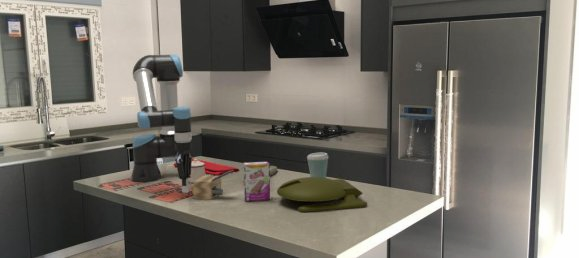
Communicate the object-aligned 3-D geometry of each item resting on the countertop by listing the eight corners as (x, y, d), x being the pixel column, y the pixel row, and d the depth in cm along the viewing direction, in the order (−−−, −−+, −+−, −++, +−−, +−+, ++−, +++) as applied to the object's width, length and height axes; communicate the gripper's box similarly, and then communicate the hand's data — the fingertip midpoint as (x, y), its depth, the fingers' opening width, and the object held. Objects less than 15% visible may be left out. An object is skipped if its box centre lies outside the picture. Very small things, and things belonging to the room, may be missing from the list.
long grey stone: (238, 187, 242) (256, 189, 239) (238, 177, 241) (256, 179, 238) (264, 169, 274) (281, 171, 271) (264, 160, 273) (281, 161, 270)
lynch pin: (192, 197, 219) (191, 186, 218) (197, 194, 224) (196, 183, 223) (219, 199, 216) (219, 187, 215) (224, 195, 221) (223, 184, 220)
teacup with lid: (209, 180, 251) (208, 158, 249) (196, 184, 244) (195, 161, 242) (193, 177, 258) (192, 156, 257) (179, 181, 251) (178, 159, 249)
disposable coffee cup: (315, 187, 233) (315, 156, 231) (303, 183, 242) (302, 153, 240) (333, 184, 239) (333, 153, 237) (320, 180, 248) (319, 150, 246)
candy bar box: (245, 202, 210) (244, 165, 208) (243, 199, 215) (242, 162, 213) (270, 200, 212) (269, 163, 210) (268, 197, 217) (267, 161, 215)
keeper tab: (212, 181, 215) (211, 179, 215) (217, 178, 221) (216, 176, 221) (228, 174, 212) (227, 171, 212) (234, 171, 218) (233, 169, 218)
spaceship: (345, 189, 229) (344, 169, 228) (369, 208, 199) (369, 185, 198) (271, 195, 222) (271, 174, 221) (285, 215, 192) (284, 191, 191)
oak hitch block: (194, 198, 217) (193, 181, 216) (205, 191, 229) (205, 175, 228) (210, 199, 215) (210, 182, 214) (221, 192, 227) (220, 175, 226)
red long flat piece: (217, 177, 260) (217, 170, 260) (173, 167, 287) (172, 161, 287) (239, 172, 272) (239, 165, 271) (194, 163, 299) (194, 157, 298)
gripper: (184, 144, 212) (186, 196, 216) (197, 139, 225) (199, 188, 228) (168, 143, 214) (171, 195, 218) (182, 138, 227) (184, 188, 230)
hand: (185, 192), depth 223 cm, fingers closed
